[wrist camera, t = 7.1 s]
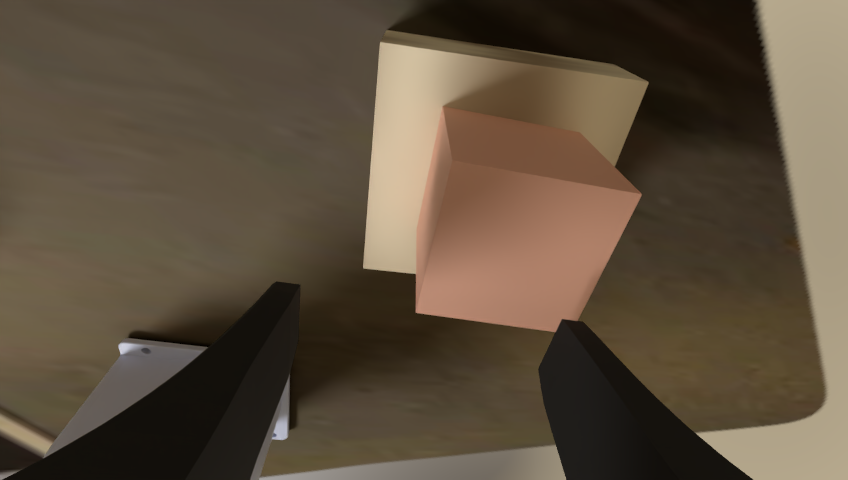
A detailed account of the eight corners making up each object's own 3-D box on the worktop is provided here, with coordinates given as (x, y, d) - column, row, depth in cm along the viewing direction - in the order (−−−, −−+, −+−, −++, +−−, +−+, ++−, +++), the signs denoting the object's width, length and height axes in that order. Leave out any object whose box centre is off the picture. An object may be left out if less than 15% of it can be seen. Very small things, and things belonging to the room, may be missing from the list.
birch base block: (370, 226, 21) (362, 268, 18) (387, 28, 17) (380, 41, 14) (545, 246, 22) (564, 289, 19) (609, 62, 17) (649, 82, 14)
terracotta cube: (416, 229, 17) (415, 312, 13) (442, 105, 15) (451, 160, 10) (534, 248, 18) (570, 334, 14) (579, 132, 15) (642, 194, 11)
